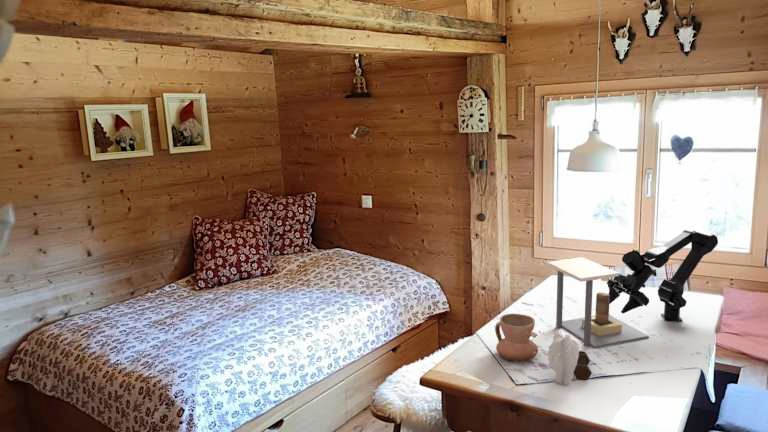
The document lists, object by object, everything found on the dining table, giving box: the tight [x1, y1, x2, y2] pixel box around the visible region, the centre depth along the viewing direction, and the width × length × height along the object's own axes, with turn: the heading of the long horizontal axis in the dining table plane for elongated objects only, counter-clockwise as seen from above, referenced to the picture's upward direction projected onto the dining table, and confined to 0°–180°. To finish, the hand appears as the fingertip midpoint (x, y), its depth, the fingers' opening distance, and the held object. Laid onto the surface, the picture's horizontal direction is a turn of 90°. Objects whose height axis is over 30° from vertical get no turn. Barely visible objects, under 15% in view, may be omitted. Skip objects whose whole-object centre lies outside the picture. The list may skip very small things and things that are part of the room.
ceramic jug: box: [494, 313, 539, 363], centre depth 206 cm, size 18×14×14 cm
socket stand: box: [546, 256, 650, 349], centre depth 222 cm, size 30×24×27 cm
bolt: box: [573, 350, 593, 381], centre depth 196 cm, size 6×5×15 cm
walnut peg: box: [594, 292, 610, 326], centre depth 224 cm, size 5×5×14 cm
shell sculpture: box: [547, 330, 580, 386], centre depth 186 cm, size 8×8×18 cm
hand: (613, 308), depth 226 cm, fingers open, 9 cm apart
